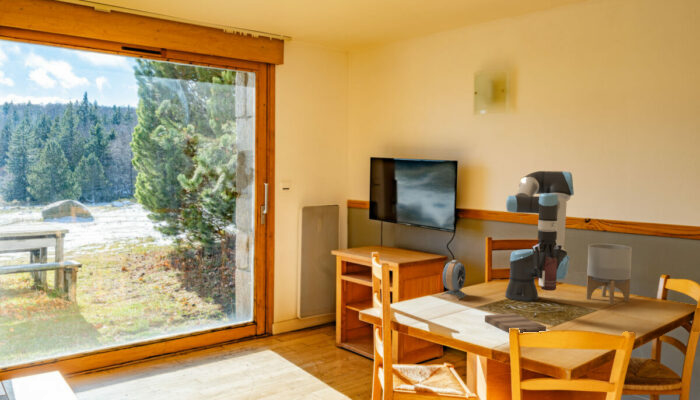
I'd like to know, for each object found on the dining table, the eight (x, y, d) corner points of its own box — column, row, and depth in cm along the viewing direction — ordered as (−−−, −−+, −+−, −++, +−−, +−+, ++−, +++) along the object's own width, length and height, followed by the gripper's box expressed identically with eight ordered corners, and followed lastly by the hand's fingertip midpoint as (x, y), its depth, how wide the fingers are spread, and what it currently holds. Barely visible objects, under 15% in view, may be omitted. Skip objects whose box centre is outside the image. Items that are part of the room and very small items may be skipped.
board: (484, 321, 222) (484, 315, 222) (514, 318, 226) (514, 313, 226) (518, 337, 201) (518, 331, 200) (550, 334, 205) (550, 328, 205)
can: (537, 288, 233) (538, 255, 232) (549, 286, 235) (550, 254, 234) (546, 291, 228) (547, 258, 226) (559, 290, 230) (560, 257, 228)
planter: (590, 303, 256) (592, 248, 255) (583, 294, 275) (585, 242, 273) (634, 306, 252) (636, 250, 250) (623, 297, 270) (626, 244, 269)
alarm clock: (457, 300, 257) (458, 263, 256) (438, 297, 262) (439, 261, 261) (468, 294, 269) (469, 259, 268) (449, 292, 274) (450, 257, 273)
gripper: (536, 232, 223) (534, 288, 225) (569, 230, 228) (567, 286, 230) (525, 229, 230) (523, 284, 232) (557, 228, 235) (555, 282, 237)
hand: (545, 285), depth 231 cm, fingers open, 3 cm apart
